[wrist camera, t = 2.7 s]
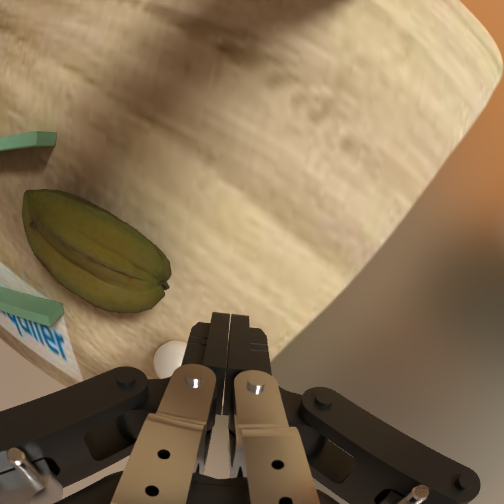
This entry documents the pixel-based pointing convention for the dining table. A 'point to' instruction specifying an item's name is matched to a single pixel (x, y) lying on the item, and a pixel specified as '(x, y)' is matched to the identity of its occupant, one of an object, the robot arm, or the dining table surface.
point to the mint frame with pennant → (14, 300)
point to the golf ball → (168, 358)
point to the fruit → (94, 252)
